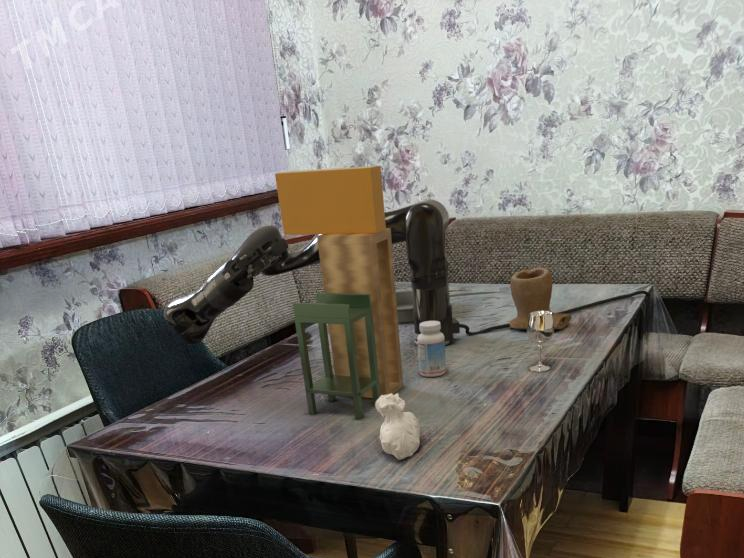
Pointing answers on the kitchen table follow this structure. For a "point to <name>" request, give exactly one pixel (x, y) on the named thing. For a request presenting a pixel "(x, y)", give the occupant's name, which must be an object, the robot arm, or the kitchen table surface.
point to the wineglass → (540, 333)
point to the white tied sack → (397, 427)
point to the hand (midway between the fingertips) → (274, 245)
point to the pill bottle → (431, 349)
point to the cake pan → (404, 306)
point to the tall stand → (375, 277)
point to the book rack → (329, 312)
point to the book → (331, 201)
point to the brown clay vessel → (533, 297)
